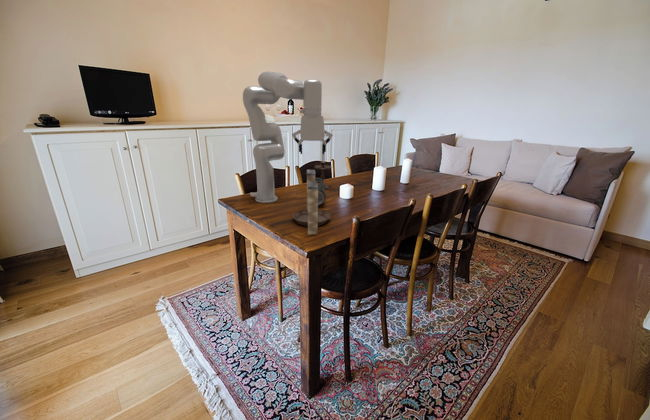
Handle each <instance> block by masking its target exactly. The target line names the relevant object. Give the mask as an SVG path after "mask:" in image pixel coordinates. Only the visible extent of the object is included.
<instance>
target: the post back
mask: <svg viewBox="0 0 650 420" xmlns="http://www.w3.org/2000/svg"><path fill="white" fill-rule="evenodd" d="M316 177H317V176H316V169H306V209H308V182H315V178H316Z"/></svg>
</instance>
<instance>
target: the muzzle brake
mask: <svg viewBox="0 0 650 420" xmlns="http://www.w3.org/2000/svg"><path fill="white" fill-rule="evenodd" d="M315 182H317V184H318V206H320V205H321V204H323V203H324V202H325V201H326V192H325V191H326V190H325V186H324V185H325V180H324V181H323V179H322V178H321V177H317V176H315Z"/></svg>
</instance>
